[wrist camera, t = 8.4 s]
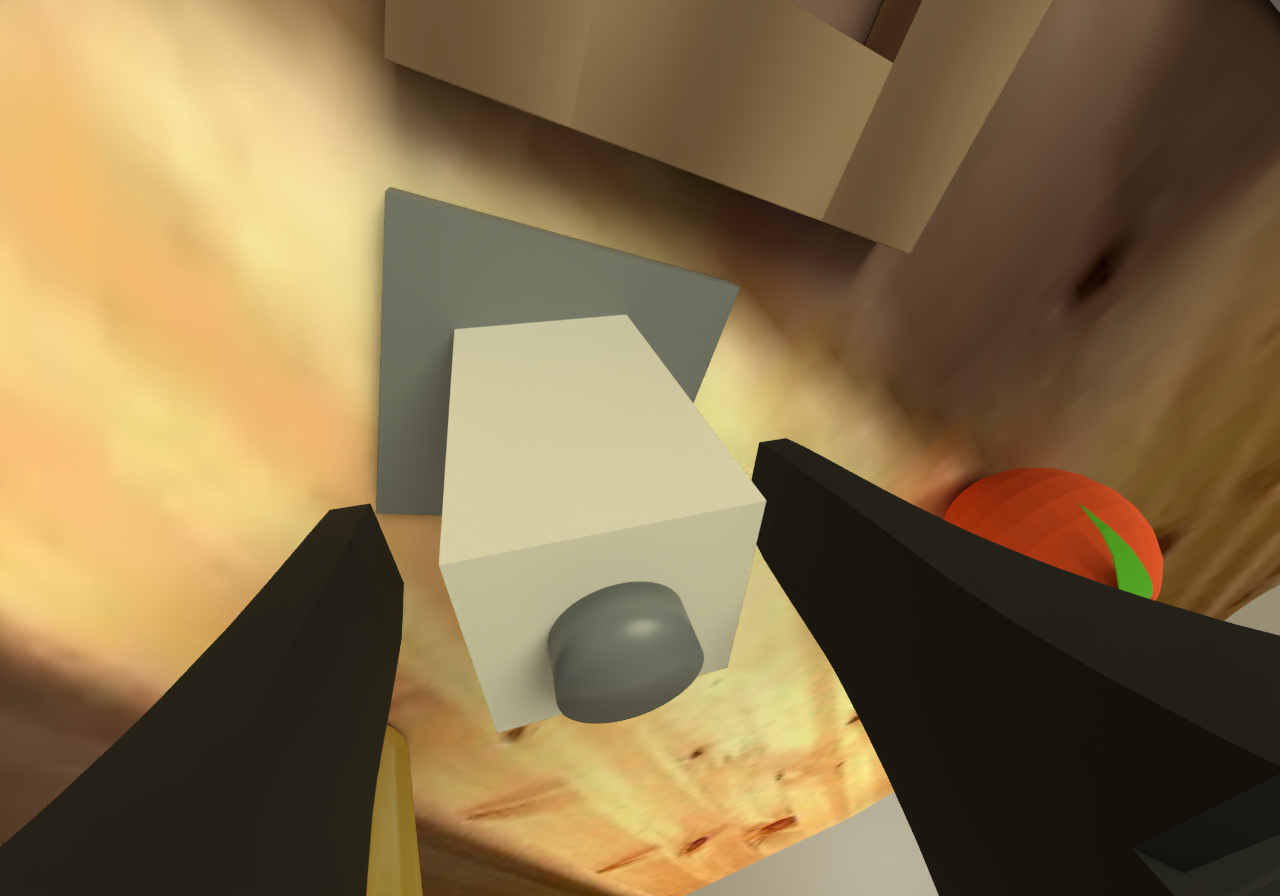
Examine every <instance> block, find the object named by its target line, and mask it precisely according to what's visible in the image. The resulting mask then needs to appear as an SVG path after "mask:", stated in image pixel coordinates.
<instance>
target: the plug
mask: <svg viewBox="0 0 1280 896" xmlns="http://www.w3.org/2000/svg"><path fill="white" fill-rule="evenodd" d="M765 504H766V500H765V498H764V497H763V496H762V494H761V493H760V492H759V490H758V489H757V488H756V486H755V485H754V484H753V482H752V481H751V480H750V478H749V477H748V476H747V474H746V473H745V472H744V470H743V469H742V468H741V466H740V465H739V464H738V462H737V461H736V460H735V458H734V457H733V456H732V454H731V453H730V452H729V450H728V449H727V448H726V446H725V445H724V444H723V442H722V441H721V440H720V438H719V437H718V436H717V434H716V433H715V432H714V430H713V429H712V428H711V426H710V425H709V424H708V422H707V421H706V420H705V418H704V417H703V416H702V414H701V413H700V412H699V410H698V409H697V408H696V406H695V405H694V404H693V402H692V401H691V400H690V398H689V397H688V396H687V394H686V393H685V392H684V390H683V389H682V388H681V386H680V385H679V384H678V382H677V381H676V380H675V378H674V377H673V376H672V374H671V373H670V372H669V370H668V369H667V368H666V366H665V365H664V364H663V362H662V361H661V360H660V358H659V357H658V356H657V354H656V353H655V352H654V350H653V349H652V348H651V346H650V345H649V344H648V342H647V341H646V340H645V338H644V337H643V336H642V334H641V333H640V332H639V330H638V329H637V328H636V326H635V325H634V324H633V322H632V321H631V320H630V318H629V317H628V316H627V315H616V316H604V317H592V318H580V319H569V320H557V321H545V322H534V323H522V324H510V325H499V326H487V327H475V328H464V329H454V343H453V358H452V373H451V388H450V403H449V418H448V433H447V449H446V464H445V479H444V494H443V509H442V524H441V539H440V554H439V568H440V570H441V573H442V576H443V579H444V582H445V585H446V588H447V591H448V594H449V596H450V599H451V602H452V605H453V608H454V611H455V614H456V617H457V619H458V622H459V625H460V628H461V631H462V634H463V637H464V640H465V643H466V645H467V648H468V651H469V654H470V657H471V660H472V663H473V666H474V669H475V671H476V674H477V677H478V680H479V683H480V686H481V689H482V692H483V694H484V697H485V700H486V703H487V706H488V709H489V712H490V715H491V718H492V720H493V723H494V726H495V729H496V732H497V733H499V732H503V731H506V730H510V729H513V728H517V727H520V726H524V725H527V724H531V723H534V722H538V721H542V720H545V719H549V718H552V717H556V716H559V715H563V714H564V715H565V716H566V717H568V718H570V719H572V720H575V721H579V722H583V723H597V724H598V723H610V722H617V721H622V720H626V719H630V718H633V717H636V716H639V715H642V714H645V713H647V712H650V711H652V710H654V709H656V708H658V707H660V706H662V705H664V704H666V703H667V702H669V701H671V700H672V699H674V698H675V697H676V696H678V695H679V694H681V693H682V692H683V691H684V690H685V689H686V688H687V687H688V686H689V685H690V684H691V683H692V682H693V681H694V680H695V679H696V677H697V676H699V675H703V674H706V673H710V672H713V671H717V670H720V669H724V668H727V667H728V663H729V659H730V654H731V650H732V646H733V642H734V637H735V633H736V629H737V624H738V620H739V616H740V612H741V607H742V603H743V599H744V594H745V590H746V586H747V582H748V577H749V573H750V569H751V564H752V560H753V556H754V552H755V547H756V543H757V539H758V534H759V530H760V526H761V522H762V517H763V513H764V509H765Z"/></svg>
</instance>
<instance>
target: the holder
mask: <svg viewBox="0 0 1280 896" xmlns="http://www.w3.org/2000/svg"><path fill="white" fill-rule="evenodd" d="M1052 1H1053V0H884V2H883V4H882V6H881V9H880V11H879V13H878V16H877V18H876V20H875V23H874V25H873V27H872V30H871V32H870V34H869V37H868V39H867V41H866V44H865V46H864V45H862V44H860V43H858V42H857V41H855V40H853V39H852V38H850V37H848V36H847V35H845V34H843V33H842V32H840V31H838V30H837V29H835V28H833V27H832V26H830V25H828V24H826V23H825V22H823V21H821V20H820V19H818V18H816V17H815V16H813V15H811V14H810V13H808V12H806V11H805V10H803V9H801V8H800V7H798V6H796V5H795V4H793V3H791V2H789V1H788V0H385V38H384V58H385V59H387V60H389V61H390V62H392V63H394V64H397V65H400V66H402V67H405V68H408V69H410V70H413V71H416V72H418V73H421V74H424V75H426V76H429V77H432V78H435V79H437V80H440V81H443V82H445V83H448V84H451V85H453V86H456V87H459V88H462V89H464V90H467V91H470V92H472V93H475V94H478V95H480V96H483V97H486V98H488V99H491V100H494V101H497V102H499V103H502V104H505V105H507V106H510V107H513V108H515V109H518V110H521V111H524V112H526V113H529V114H532V115H534V116H537V117H540V118H542V119H545V120H548V121H550V122H553V123H556V124H559V125H561V126H564V127H567V128H569V129H572V130H575V131H577V132H580V133H583V134H585V135H588V136H591V137H594V138H596V139H599V140H602V141H604V142H607V143H610V144H612V145H615V146H618V147H621V148H623V149H626V150H629V151H631V152H634V153H637V154H639V155H642V156H645V157H647V158H650V159H653V160H656V161H658V162H661V163H664V164H666V165H669V166H672V167H674V168H677V169H680V170H683V171H685V172H688V173H691V174H693V175H696V176H699V177H701V178H704V179H707V180H709V181H712V182H715V183H718V184H720V185H723V186H726V187H728V188H731V189H734V190H736V191H739V192H742V193H745V194H747V195H750V196H753V197H755V198H758V199H761V200H763V201H766V202H769V203H771V204H774V205H777V206H780V207H782V208H785V209H788V210H790V211H793V212H796V213H798V214H801V215H804V216H806V217H809V218H812V219H815V220H817V221H820V222H823V223H825V224H828V225H831V226H833V227H836V228H839V229H842V230H844V231H847V232H850V233H852V234H855V235H858V236H860V237H863V238H866V239H868V240H871V241H874V242H877V243H879V244H882V245H885V246H888V247H891V248H894V249H897V250H900V251H903V252H906V253H909V254H910V253H911V251H912V249H913V248H914V246H915V244H916V242H917V240H918V239H919V237H920V235H921V233H922V232H923V230H924V228H925V226H926V224H927V223H928V221H929V219H930V217H931V216H932V214H933V212H934V210H935V208H936V207H937V205H938V203H939V201H940V200H941V198H942V196H943V194H944V192H945V191H946V189H947V187H948V185H949V184H950V182H951V180H952V178H953V176H954V175H955V173H956V171H957V169H958V168H959V166H960V164H961V162H962V160H963V159H964V157H965V155H966V153H967V152H968V150H969V148H970V146H971V145H972V143H973V141H974V139H975V137H976V136H977V134H978V132H979V130H980V129H981V127H982V125H983V123H984V121H985V120H986V118H987V116H988V114H989V113H990V111H991V109H992V107H993V105H994V104H995V102H996V100H997V98H998V97H999V95H1000V93H1001V91H1002V89H1003V88H1004V86H1005V84H1006V82H1007V81H1008V79H1009V77H1010V75H1011V73H1012V72H1013V70H1014V68H1015V66H1016V65H1017V63H1018V61H1019V59H1020V57H1021V56H1022V54H1023V52H1024V50H1025V49H1026V47H1027V45H1028V43H1029V41H1030V40H1031V38H1032V36H1033V34H1034V33H1035V31H1036V29H1037V27H1038V26H1039V24H1040V22H1041V20H1042V18H1043V17H1044V15H1045V13H1046V11H1047V10H1048V8H1049V6H1050V4H1051V2H1052Z"/></svg>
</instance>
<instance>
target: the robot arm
mask: <svg viewBox="0 0 1280 896" xmlns="http://www.w3.org/2000/svg"><path fill="white" fill-rule="evenodd" d="M1270 1H1271V2H1272V4H1273V5H1274V6H1275V7H1276V8H1277V10H1278V11H1279V12H1280V0H1270ZM751 481H752V482H753V484H754V485H755V486H756V488H757V489H758V490H759V492H760V493H761V494H762V496H763V497H764V498H765V500H766V504H765V509H764V513H763V517H762V522H761V526H760V530H759V534H758V539H757V543H756V544H757V546H758V548H759V550H760V552H761V554H762V556H763V558H764V560H765V561H766V563H767V565H768V566H769V568H770V570H771V571H772V573H773V574H774V576H775V577H776V579H777V581H778V582H779V584H780V585H781V587H782V589H783V590H784V592H785V593H786V595H787V596H788V598H789V599H790V601H791V603H792V604H793V606H794V607H795V609H796V610H797V612H798V613H799V615H800V616H801V618H802V620H803V621H804V623H805V624H806V626H807V627H808V629H809V630H810V632H811V634H812V635H813V637H814V638H815V640H816V641H817V643H818V644H819V646H820V648H821V649H822V651H823V652H824V654H825V656H826V657H827V659H828V661H829V662H830V664H831V666H832V667H833V669H834V671H835V672H836V674H837V676H838V678H839V680H840V682H841V684H842V686H843V688H844V690H845V692H846V693H847V695H848V697H849V699H850V701H851V703H852V705H853V707H854V709H855V711H856V713H857V715H858V717H859V719H860V721H861V722H862V724H863V727H864V729H865V731H866V733H867V735H868V737H869V739H870V741H871V743H872V745H873V747H874V749H875V751H876V753H877V756H878V758H879V760H880V762H881V764H882V766H883V768H884V770H885V772H886V774H887V776H888V778H889V781H890V783H891V785H892V787H893V790H894V792H895V794H896V796H897V798H898V801H899V803H900V805H901V807H902V809H903V812H904V814H905V816H906V819H907V821H908V823H909V825H910V827H911V830H912V832H913V834H914V836H915V839H916V841H917V843H918V846H919V848H920V851H921V853H922V855H923V858H924V860H925V863H926V865H927V867H928V870H929V872H930V875H931V877H932V880H933V882H934V885H935V887H936V889H937V892H938V894H939V896H1280V636H1279V635H1275V634H1271V633H1267V632H1263V631H1259V630H1255V629H1251V628H1248V627H1244V626H1240V625H1236V624H1232V623H1229V622H1225V621H1222V620H1218V619H1215V618H1212V617H1208V616H1205V615H1201V614H1198V613H1195V612H1191V611H1188V610H1185V609H1181V608H1178V607H1174V606H1171V605H1168V604H1164V603H1161V602H1158V601H1154V600H1151V599H1148V598H1145V597H1142V596H1139V595H1136V594H1133V593H1130V592H1126V591H1123V590H1120V589H1117V588H1114V587H1111V586H1108V585H1105V584H1103V583H1100V582H1097V581H1094V580H1091V579H1088V578H1086V577H1083V576H1080V575H1077V574H1074V573H1071V572H1069V571H1066V570H1063V569H1060V568H1057V567H1055V566H1052V565H1049V564H1047V563H1044V562H1041V561H1039V560H1036V559H1034V558H1031V557H1028V556H1026V555H1024V554H1021V553H1019V552H1016V551H1014V550H1011V549H1009V548H1007V547H1004V546H1002V545H999V544H997V543H995V542H992V541H990V540H987V539H985V538H983V537H980V536H978V535H976V534H973V533H971V532H969V531H967V530H964V529H962V528H960V527H958V526H956V525H954V524H952V523H949V522H947V521H945V520H943V519H941V518H939V517H937V516H935V515H933V514H931V513H929V512H927V511H925V510H922V509H920V508H918V507H916V506H914V505H912V504H910V503H908V502H907V501H905V500H903V499H901V498H899V497H897V496H895V495H893V494H891V493H889V492H887V491H885V490H883V489H882V488H880V487H878V486H876V485H874V484H872V483H870V482H868V481H867V480H865V479H863V478H861V477H859V476H857V475H856V474H854V473H852V472H850V471H848V470H846V469H845V468H843V467H841V466H839V465H837V464H835V463H834V462H832V461H830V460H828V459H826V458H824V457H823V456H821V455H819V454H817V453H815V452H813V451H811V450H809V449H807V448H805V447H803V446H801V445H799V444H797V443H795V442H793V441H791V440H789V439H787V438H785V439H779V440H772V441H766V442H760V443H759V447H758V452H757V456H756V461H755V466H754V471H753V476H752V480H751ZM403 592H404V582H403V580H402V578H401V575H400V573H399V570H398V568H397V566H396V563H395V561H394V559H393V556H392V554H391V551H390V549H389V547H388V544H387V542H386V539H385V537H384V535H383V532H382V530H381V528H380V525H379V523H378V520H377V518H376V516H375V513H374V511H373V509H372V506H371V504H365V505H358V506H352V507H345V508H339V509H333V510H329V511H328V513H327V514H326V515H325V516H324V517H323V518H322V519H321V520H320V522H319V523H318V524H317V525H316V526H315V527H314V529H313V530H312V531H311V532H310V533H309V534H308V536H307V537H306V538H305V539H304V540H303V541H302V543H301V544H300V545H299V546H298V547H297V549H296V550H295V551H294V552H293V553H292V554H291V556H290V557H289V558H288V559H287V560H286V561H285V563H284V564H283V565H282V566H281V567H280V569H279V570H278V571H277V572H276V573H275V574H274V576H273V577H272V578H271V579H270V580H269V581H268V583H267V584H266V585H265V586H264V587H263V588H262V589H261V591H260V592H259V593H258V594H257V595H256V596H255V597H254V598H253V600H252V601H251V602H250V603H249V604H248V605H247V606H246V608H245V609H244V610H243V611H242V612H241V613H240V614H239V615H238V617H237V618H236V619H235V620H234V621H233V622H232V623H231V625H230V626H229V627H228V628H227V629H226V630H225V631H224V632H223V633H222V634H221V635H220V636H219V637H218V638H217V639H216V641H215V642H214V643H213V644H212V645H211V646H210V647H209V648H208V649H207V650H206V651H205V652H204V653H203V654H202V655H201V656H200V657H199V658H198V659H197V661H196V662H195V663H194V664H193V665H192V666H191V667H190V668H189V669H188V670H187V671H186V672H185V673H184V674H183V675H182V676H181V677H180V678H179V680H178V681H177V682H176V683H175V684H174V685H173V686H172V687H171V688H170V689H169V690H168V691H167V692H166V693H165V694H164V695H163V696H162V697H161V698H160V699H159V700H158V701H157V702H156V703H155V704H154V705H153V706H152V707H151V708H150V709H149V710H148V711H147V712H146V713H145V714H144V715H143V716H142V717H141V718H140V719H139V720H138V721H137V722H136V723H135V724H134V725H133V726H132V727H131V728H130V729H129V730H128V731H127V732H126V733H125V734H124V735H123V736H122V737H121V738H120V739H119V740H118V741H117V742H116V743H115V744H113V745H112V746H111V747H110V748H109V749H108V750H107V751H106V752H105V753H104V754H103V755H102V756H101V757H100V758H98V759H97V760H96V761H95V762H94V763H93V764H92V765H91V766H90V767H89V768H88V769H87V770H86V771H85V772H83V773H82V774H81V775H80V776H79V777H78V778H77V779H76V780H75V781H74V782H73V783H72V784H71V785H70V786H68V787H67V788H66V789H65V790H64V791H63V792H62V793H61V794H60V795H59V796H58V797H57V798H55V799H54V800H53V801H52V802H51V803H50V804H49V805H48V806H47V807H46V808H44V809H43V810H42V811H41V812H40V813H39V814H38V815H37V816H36V817H34V818H33V819H32V820H31V821H30V822H29V823H28V824H26V825H25V826H24V827H23V828H22V829H21V830H20V831H18V832H17V833H16V834H15V835H14V836H13V837H11V838H10V839H9V840H8V841H7V842H6V843H4V844H3V845H2V846H1V847H0V896H366V894H367V880H368V867H369V855H370V842H371V829H372V817H373V808H374V800H375V793H376V785H377V778H378V772H379V767H380V761H381V755H382V750H383V744H384V738H385V733H386V727H387V721H388V715H389V710H390V704H391V698H392V693H393V687H394V681H395V675H396V669H397V663H398V657H399V651H400V645H401V639H402V620H403Z"/></svg>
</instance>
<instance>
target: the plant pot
mask: <svg viewBox="0 0 1280 896" xmlns="http://www.w3.org/2000/svg"><path fill="white" fill-rule="evenodd" d="M366 896H423V894H422V885H421V875H420V865H419V855H418V845H417V835H416V824H415V814H414V803H413V793H412V781H411V770H410V758H409V748H408V744H407V742H406V740H405V738H404V737H403V736H402V735H401V734H400V733H399V732H398V731H397V730H395V729H394V728H392V727H391V726H389V725H387V727H386V733H385V738H384V744H383V750H382V755H381V761H380V767H379V772H378V778H377V785H376V793H375V800H374V808H373V817H372V829H371V842H370V855H369V867H368V880H367V894H366Z"/></svg>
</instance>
